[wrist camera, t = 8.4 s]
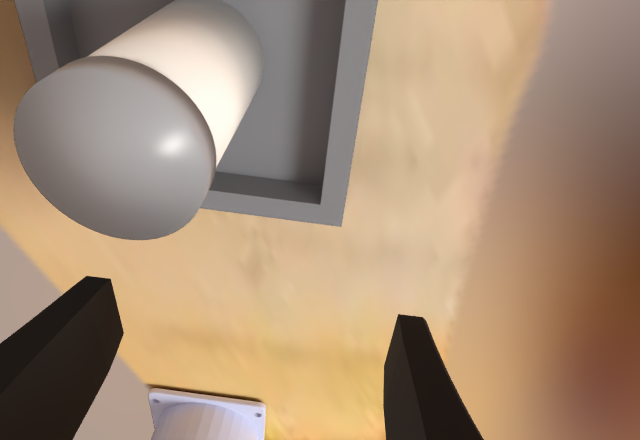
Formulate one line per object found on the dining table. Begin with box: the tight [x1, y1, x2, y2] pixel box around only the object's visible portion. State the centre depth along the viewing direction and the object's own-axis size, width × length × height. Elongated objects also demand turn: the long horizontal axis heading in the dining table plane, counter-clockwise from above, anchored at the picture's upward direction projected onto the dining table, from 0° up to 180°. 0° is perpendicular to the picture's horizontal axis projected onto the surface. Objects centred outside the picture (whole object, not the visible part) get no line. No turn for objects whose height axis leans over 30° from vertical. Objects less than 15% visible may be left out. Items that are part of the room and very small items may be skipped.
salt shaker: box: [13, 0, 264, 240], centre depth 15 cm, size 5×5×8 cm
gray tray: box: [14, 0, 378, 227], centre depth 18 cm, size 12×12×2 cm
